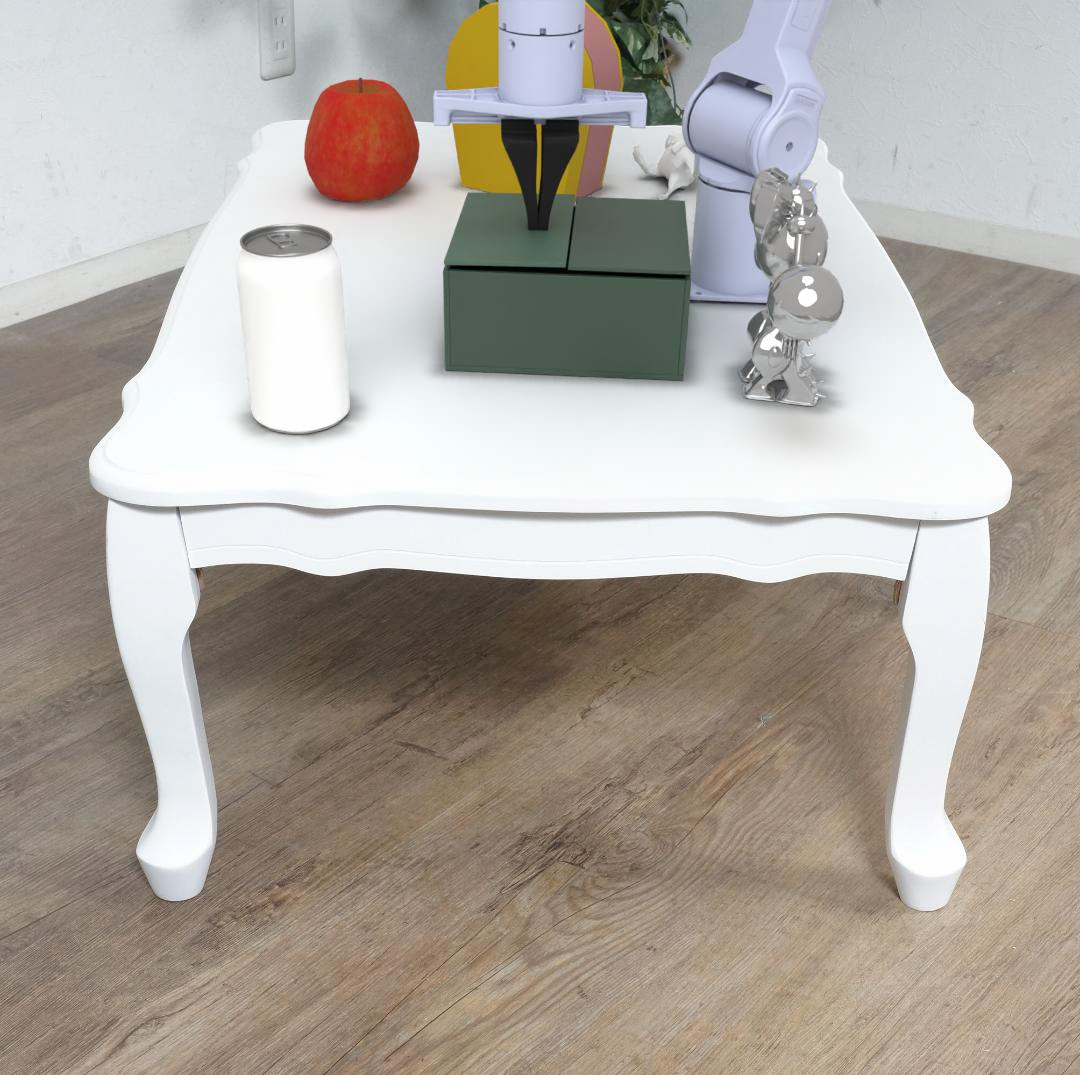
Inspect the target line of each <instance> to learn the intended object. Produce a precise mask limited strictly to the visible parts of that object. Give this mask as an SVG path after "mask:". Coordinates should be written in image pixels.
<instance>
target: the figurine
mask: <svg viewBox="0 0 1080 1075" xmlns="http://www.w3.org/2000/svg"><path fill="white" fill-rule="evenodd" d="M664 148H665V150H664V151H663V153H662V154H661V156H660V158H659V159H658V162H656V163H654V164H650V165H649V164H648V163H647V162H646V160H645V158H644V156H643V151H642V148H641V145H636V146H633V152H632V156H633V159H634V161H635V163H637V164H638V165H639V167H640V168H641V170H642V171H643V173H644V174H645V175H646V176H647V175H648V176H650V177H654V178H666V180H667V181H668V184H667V185H668V191H667V192H666V194H658V200H667V199H668V197H669V196H670V195H671V194H672V193H674V192H675V191H676V190H678V189H685V188H687V187H688V186H690V185H691V184H692V183H693V182H694V181H695V180H696V179H695V175H698V170H697V169H695V168H694V161H695V154H693V153H692V152H691V151H690V150H689V149H688V147H687V145H686V144H685V141H684V138H683V133H678V132H674V131H672V132H671V133H669V134H668V135H667V138H666V140H665V144H664Z"/></svg>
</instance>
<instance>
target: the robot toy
mask: <svg viewBox="0 0 1080 1075" xmlns="http://www.w3.org/2000/svg"><path fill="white" fill-rule="evenodd" d="M788 177H789V175H787V174H786V173H784V172H783V171H781V170H780V169H779V168H777V167H773V168H769V169H766V170H763V171H761V172H760V173H759V174H758V176H757V178H756V179H755V181H754V183H753V186H752V191H751V196H750V202H749V212H750V217H751V221H752V223H753V225H754V232H755V237H756V242H755V246H754V259H755V263H756V265H757V267H758V268H759V269H760V270H762V271H763V273H764V275H765V276H766V277H767V278H768V279H769V280H770V285H769V291H768V297H767V303H766V308H765V309H762V310H760V311H758V312H757V313H755V314H754V315H753V316H752V317H751V318H750V320H749V321H748V323H747V326H746V336H747V339H748V342H749V344H750V345H751V347H752V349H751V358H750V359H749V360H747V362H746V363H745V364H744V365H743V366H742V367H739V368H738V369H737V373H738V375H739V377H740V380H741V381H742V382H745V383H744V384H743V385H742V386H741V389H742V397H743V398H745V399H748V400H756V401H764V402H777V403H781V404H789V405H795V406H803V407H815V406H816V405H817V403H818V401H819V399H826V398H827V396H826V395H824V394H822V392H821V391H818V387H819V386H820V385H821V384H823V383H824V382H825V381H824V380H821V379H819V380H816V376H815V375H814V374H813V373H812V371H816V370H818V369H819V368H818V367H815V366H812V365H810V362H809V361H810V360H811V359H813V358H814V357H815V356H816V354H817V353H815V352H814V353H810V354H806V355H805V354H804V353H803V352H802V351H803V349H804V346H805V344H806V345H807V346H811V345H812V341H811V340H816V339H817V340H818V339H819V338H820V337H822V336H825V335H827V334H828V333H829V332H831V331H832V329H833V328H834V327H835V326H836V325H837V324H838V321H839V320H840V318H841V316H842V315H843V311H844V310H843V309H844V303H845V299H844V290H843V287H842V286H841V283H840V282H839V280H838V278H837V277H836V276H835V275H834V274H833V273H832V272H831V271H830V270H828V269H827V268H824V267H823V266H824V264H825V262H826V258H827V255H828V254H827V253H828V245H829V244H828V240H829V234H828V230H827V227H826V225H825V222H824V221H823V219H822V218H821V216H820V215H819V214H818V210H819V207H818V205H817V203H816V204H815V201H814V195H813V194H812V192H813V190H814V188H815V187H816V186H817V185H818V181H816V182H814V183H815V184H814V185H813V186H812V187H810V188H809V189H808V188H806V187H804V186H801V179H802V177H801V176H800V172H799V175H798V179H797V182H796V183H795V185H794V186H793V185H792V184H790V183H789V182H788ZM816 188H817V187H816ZM802 341H803V342H802ZM777 380H779V381H784V383H785V385H786V387H785V388H781V390H780V391H779V393H778V395H777V396H776V394H775V393H776V392H775V388H774V387H773V386H769V385H770V383H772V382H774V381H777Z"/></svg>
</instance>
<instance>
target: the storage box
mask: <svg viewBox="0 0 1080 1075" xmlns="http://www.w3.org/2000/svg"><path fill="white" fill-rule="evenodd" d="M688 232H689V231H688V221H687V209H686V201H685V200H680V199H679V200H678V199H677V200H675V199H662V200H659V199H653V198H651V199H650V198H649V199H647V198H626V197H624V198H622V197H601V196H600V197H599V196H598V197H597V196H584V197H577V200H576V201H575V204H574V209H573V216H572V224H571V232H570V239H569V247H568V254H567V262H566V267H522V266H476V265H444V267H443V270H442V285H443V286H442V287H443V288H442V289H443V291H442V292H443V294H442V295H443V329H444V330H443V331H444V333H443V334H444V370H445V371H455V372H456V371H457V372H458V371H459V372H482V373H500V374H502V373H503V374H505V373H506V374H522V375H523V374H525V375H544V376H545V375H548V376H568V377H569V376H570V377H592V378H611V379H612V378H613V379H614V378H616V379H617V378H618V379H636V380H637V379H639V380H661V381H682V382H683V381H684V373H685V363H686V362H685V361H686V352H687V351H686V350H687V340H688V339H687V338H688V326H689V314H690V302H691V300H690V292H691V265H690V260H691V254H690V244H689V243H690V242H689V233H688Z"/></svg>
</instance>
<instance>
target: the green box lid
mask: <svg viewBox="0 0 1080 1075" xmlns="http://www.w3.org/2000/svg"><path fill="white" fill-rule="evenodd" d="M538 198H539V194H537V206H538ZM575 202H576V201H575V194H556V195H555V198H554V202H553V205H552V209H551V213H550V218H549V225H548V230H547V231H537V230H528V218H527V212H526V206H525V202H524V198H523V194H522V193H491V192H476V191H475V192H473V191H471V192H470V191H469V192H467V194H466V197H465V199H464V202H463V205H462V208H461V211H460V214H459V217H458V219H457V223H456V225H455V228H454V231H453V233H452V236H451V239H450V242H449V245H448V248H447V251H446V254H445V257H444V259H443V265H444V266H445V265H476V266H522V267H566V262H567V254H568V247H569V239H570V232H571V224H572V216H573V209H574V205H575Z"/></svg>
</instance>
